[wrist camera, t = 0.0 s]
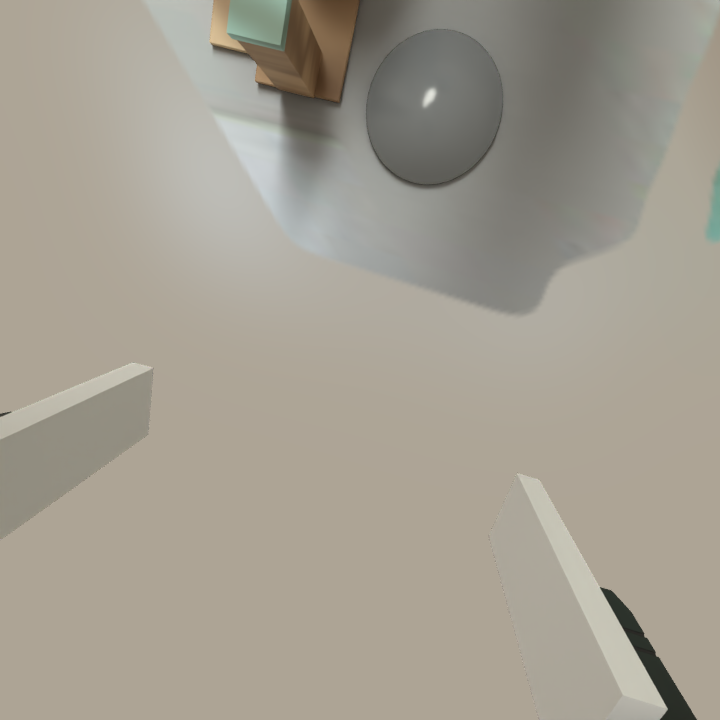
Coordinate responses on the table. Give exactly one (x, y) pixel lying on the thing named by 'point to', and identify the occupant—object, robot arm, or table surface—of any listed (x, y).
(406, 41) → the coaster
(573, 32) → the table surface
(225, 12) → the broken strip
